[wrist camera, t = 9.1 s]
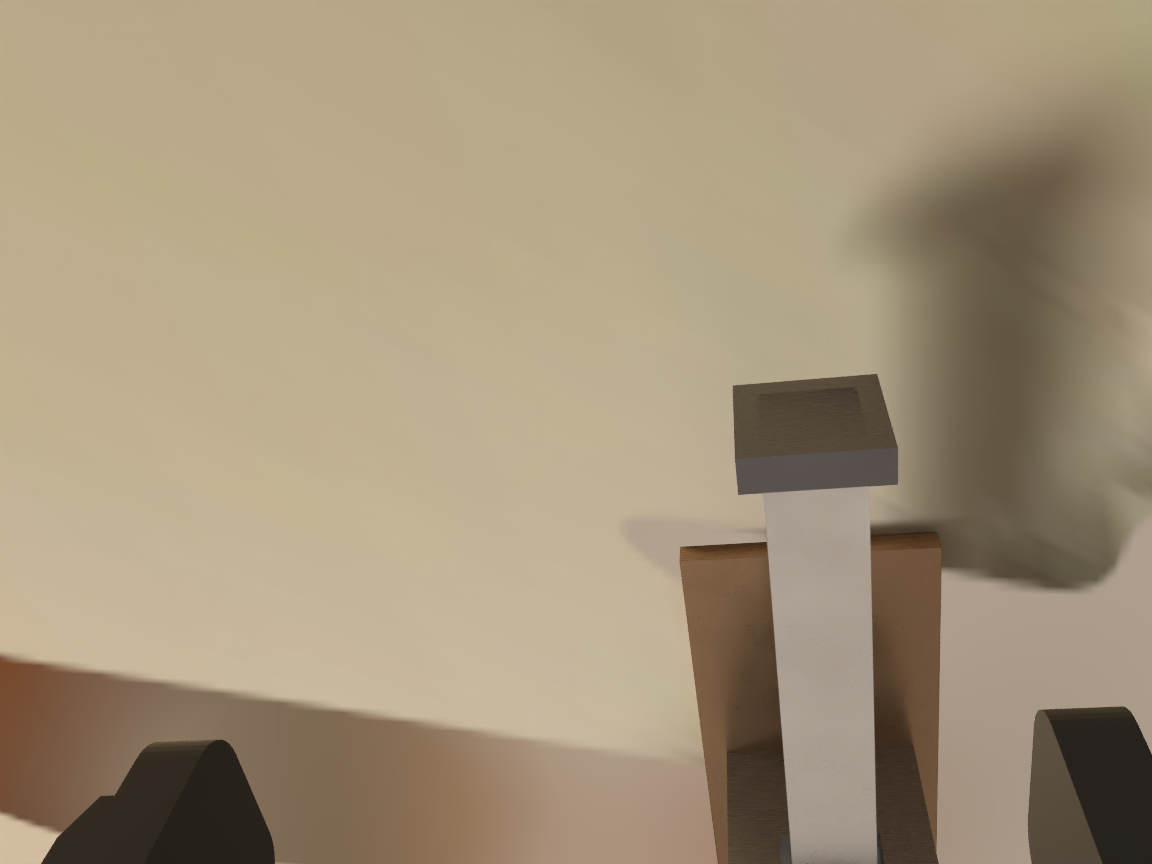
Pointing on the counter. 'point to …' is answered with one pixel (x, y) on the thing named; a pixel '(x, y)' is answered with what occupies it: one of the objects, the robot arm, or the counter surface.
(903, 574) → the block
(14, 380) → the counter surface
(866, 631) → the shaft
